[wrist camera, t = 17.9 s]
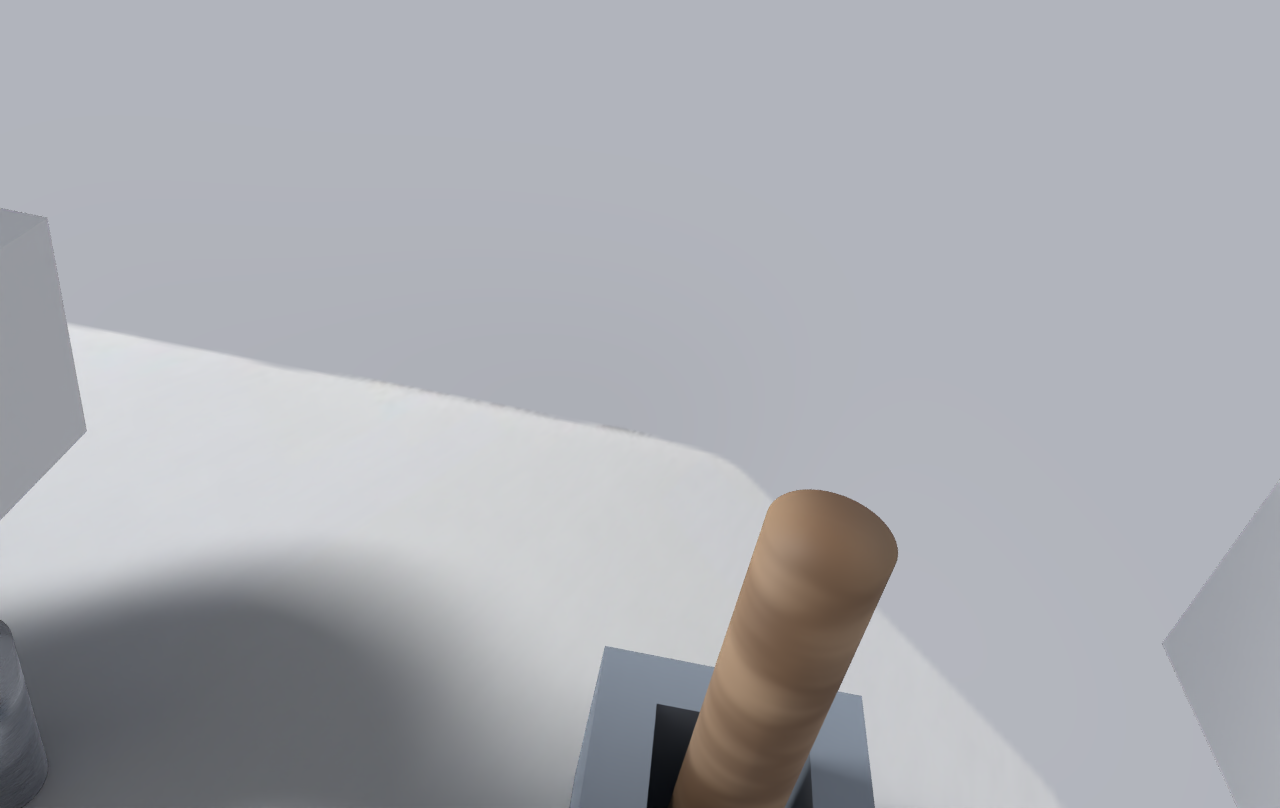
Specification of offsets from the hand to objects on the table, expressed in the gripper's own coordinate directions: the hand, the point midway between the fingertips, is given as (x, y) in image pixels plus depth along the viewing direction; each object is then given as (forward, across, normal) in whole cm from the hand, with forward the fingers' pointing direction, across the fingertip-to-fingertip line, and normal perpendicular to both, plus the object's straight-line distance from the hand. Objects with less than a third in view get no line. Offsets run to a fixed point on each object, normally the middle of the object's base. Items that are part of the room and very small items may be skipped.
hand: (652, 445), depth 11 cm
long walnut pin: (+14, +6, -34) cm, 37 cm away
